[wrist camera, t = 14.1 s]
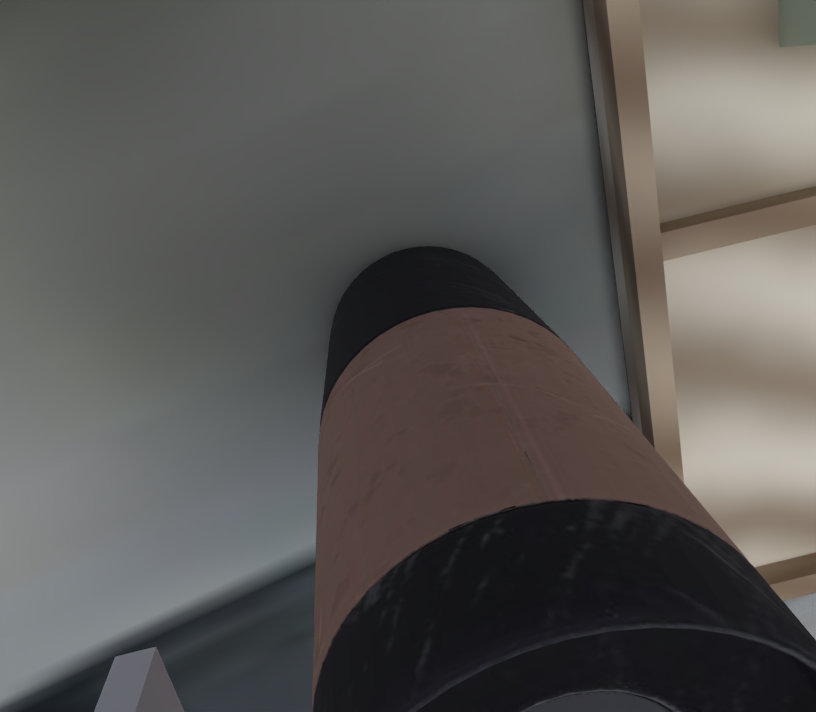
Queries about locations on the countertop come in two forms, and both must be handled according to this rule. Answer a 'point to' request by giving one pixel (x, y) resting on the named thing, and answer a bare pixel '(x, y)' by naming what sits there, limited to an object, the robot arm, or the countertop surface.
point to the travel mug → (516, 526)
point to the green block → (797, 22)
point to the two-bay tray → (717, 257)
